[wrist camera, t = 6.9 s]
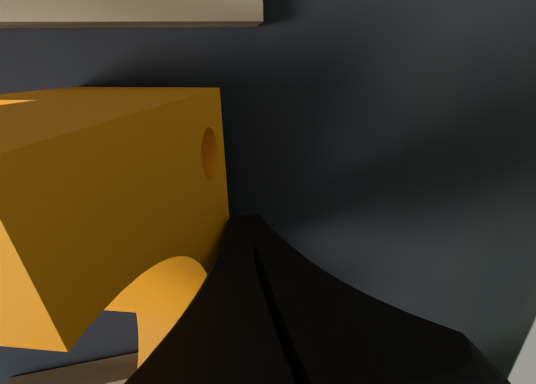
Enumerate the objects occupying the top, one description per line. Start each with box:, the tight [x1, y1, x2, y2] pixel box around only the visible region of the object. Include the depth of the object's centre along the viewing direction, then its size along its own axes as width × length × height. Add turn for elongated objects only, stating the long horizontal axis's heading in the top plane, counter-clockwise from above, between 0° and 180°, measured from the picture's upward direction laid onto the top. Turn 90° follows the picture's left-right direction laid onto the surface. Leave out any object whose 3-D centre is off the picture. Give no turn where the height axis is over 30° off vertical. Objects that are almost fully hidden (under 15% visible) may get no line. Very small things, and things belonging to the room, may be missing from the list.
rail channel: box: [0, 0, 263, 384], centre depth 10 cm, size 16×12×1 cm
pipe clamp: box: [0, 87, 229, 369], centre depth 7 cm, size 12×4×6 cm, turn 0°
